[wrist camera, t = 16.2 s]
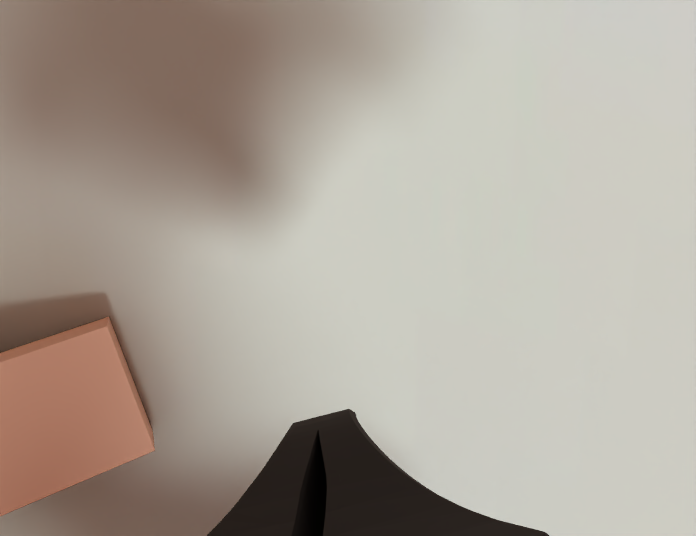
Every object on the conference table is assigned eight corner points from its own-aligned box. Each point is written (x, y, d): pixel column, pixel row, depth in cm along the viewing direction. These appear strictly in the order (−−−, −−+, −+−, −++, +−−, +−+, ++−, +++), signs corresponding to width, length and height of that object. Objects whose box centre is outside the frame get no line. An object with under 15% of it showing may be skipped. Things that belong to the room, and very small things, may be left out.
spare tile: (106, 326, 19) (-168, 419, 16) (154, 450, 20) (-97, 557, 17) (108, 316, 20) (-141, 399, 18) (152, 431, 22) (-76, 526, 19)
